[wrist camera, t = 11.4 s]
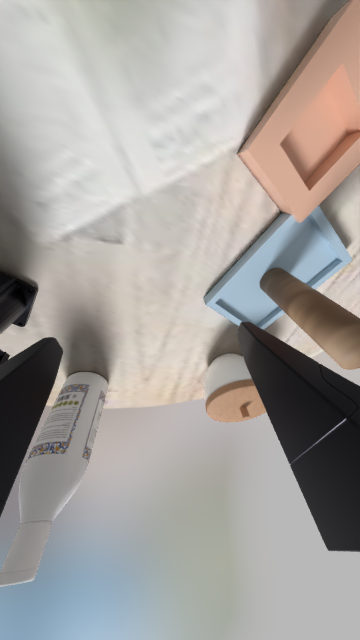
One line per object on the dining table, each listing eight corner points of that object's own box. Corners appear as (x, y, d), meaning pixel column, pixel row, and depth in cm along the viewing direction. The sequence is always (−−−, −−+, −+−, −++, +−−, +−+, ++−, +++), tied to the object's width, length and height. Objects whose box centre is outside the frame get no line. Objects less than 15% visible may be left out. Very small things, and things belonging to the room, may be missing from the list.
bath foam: (58, 382, 30) (-53, 594, 15) (82, 364, 28) (-16, 590, 12) (92, 396, 34) (34, 579, 18) (116, 382, 32) (74, 574, 16)
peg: (263, 296, 22) (339, 375, 13) (256, 276, 21) (339, 351, 11) (288, 283, 22) (389, 357, 12) (283, 262, 20) (397, 328, 10)
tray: (250, 329, 27) (254, 336, 26) (203, 298, 23) (205, 304, 22) (340, 255, 21) (352, 259, 20) (299, 193, 17) (311, 193, 15)
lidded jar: (189, 378, 33) (198, 433, 26) (211, 339, 28) (230, 395, 20) (237, 383, 36) (258, 434, 29) (267, 348, 30) (302, 400, 23)
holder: (287, 219, 18) (301, 222, 16) (237, 154, 15) (247, 149, 13) (370, 131, 15) (399, 123, 13) (330, 18, 11) (362, -13, 9)
